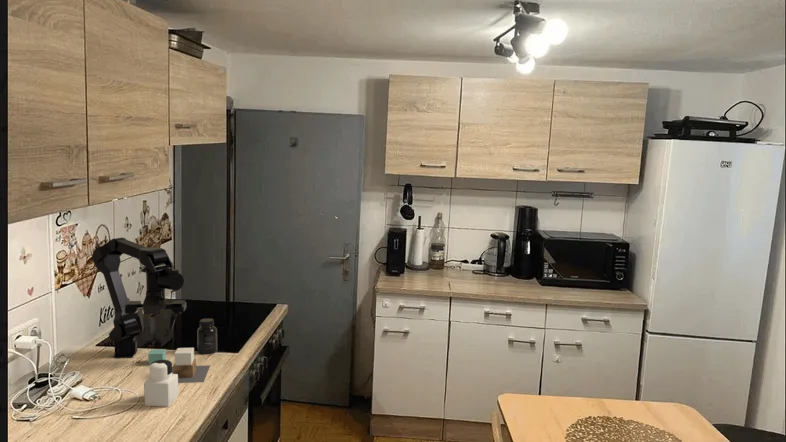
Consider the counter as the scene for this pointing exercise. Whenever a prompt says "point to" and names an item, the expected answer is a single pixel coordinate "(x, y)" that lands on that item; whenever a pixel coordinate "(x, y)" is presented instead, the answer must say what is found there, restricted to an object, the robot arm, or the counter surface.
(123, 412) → the counter surface
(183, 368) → the tower base
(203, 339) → the supplement bottle
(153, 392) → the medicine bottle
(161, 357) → the teal cube
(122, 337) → the robot arm
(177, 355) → the tower mid
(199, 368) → the mat
